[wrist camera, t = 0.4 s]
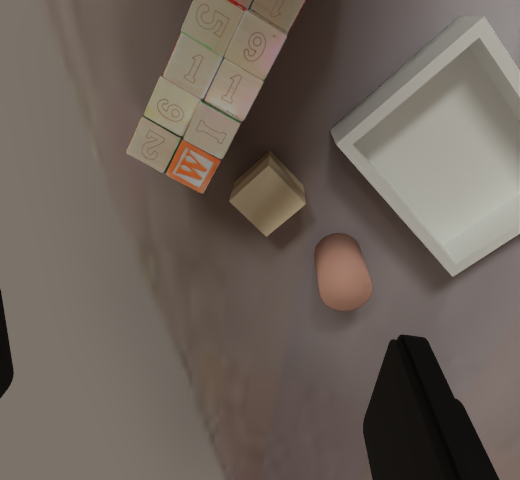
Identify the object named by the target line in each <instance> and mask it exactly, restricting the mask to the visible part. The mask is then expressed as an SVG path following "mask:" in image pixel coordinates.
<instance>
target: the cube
mask: <svg viewBox="0 0 520 480" xmlns="http://www.w3.org/2000/svg"><path fill="white" fill-rule="evenodd" d="M229 202H230V203H231V204H232V205H233V206H234V207H236V208H237V209H238V210H239V211H240V212H241V213H242V214H243V215H244V216H245V217H246V218H247V219H248V220H249V221H250V222H251V223H252V224H253V225H254V226H255V227H256V228H257V229H258V230H260V231H261V232H262V233H263V234H264V235H265V236H266V237H267V236H268V235H269V234H270V233H272V232H273V231H274V230H275V229H277V228H278V227H279V226H280V225H281V224H283V223H284V222H285V221H286V220H287V219H289V218H290V217H291V216H292V215H293V214H295V213H296V212H297V211H298V210H299V209H301V208H302V207H303V206H304V205H305V204H306V201H305V193H304V186H303V184H302V183H301V182H300V181H299V180H298V179H297V178H296V177H295V176H294V175H293V174H292V173H291V172H290V171H289V170H288V169H287V168H286V166H285V165H284V164H283V163H282V162H281V161H280V160H279V159H278V158H277V157H276V156H275V155H274V154H273V153H272V152H271V151H270V150H269V151H268V152H267V153H266V154H265V155H264V156H263V157H262V158H261V159H260V160H258V161H257V162H256V163H255V164H254V165H253V166H252V167H251V168H250V169H249V170H248V171H247V172H245V173H244V174H243V175H242V176H241V177H240V178H239V179H238V180H237V181H236V182H235V183H234V185H233V189H232V192H231V196H230V199H229Z"/></svg>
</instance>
